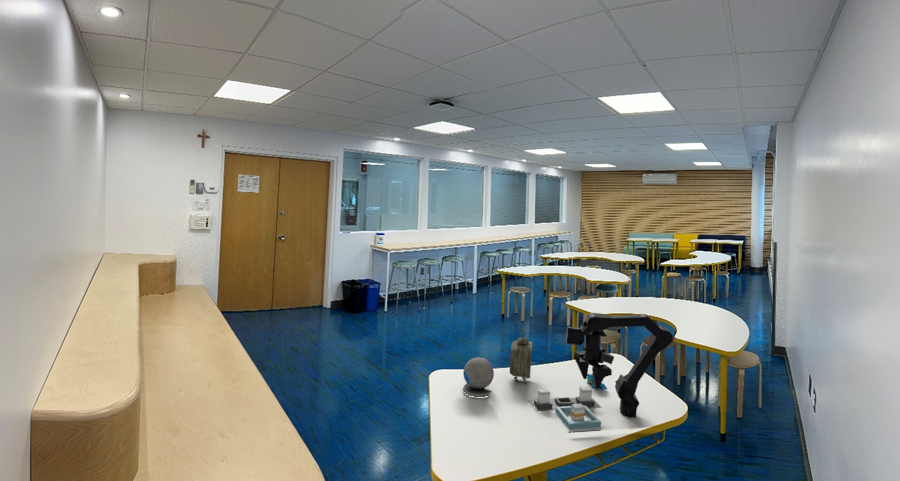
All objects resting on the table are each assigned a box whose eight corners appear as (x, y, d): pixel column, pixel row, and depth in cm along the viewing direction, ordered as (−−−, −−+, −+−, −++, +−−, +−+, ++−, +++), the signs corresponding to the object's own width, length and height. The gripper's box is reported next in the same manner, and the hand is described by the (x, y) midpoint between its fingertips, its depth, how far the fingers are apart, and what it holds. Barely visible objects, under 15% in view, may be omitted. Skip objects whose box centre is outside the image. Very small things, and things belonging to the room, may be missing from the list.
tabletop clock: (529, 388, 195) (532, 333, 192) (508, 386, 196) (511, 331, 194) (530, 375, 209) (533, 324, 206) (511, 373, 211) (513, 322, 208)
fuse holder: (601, 410, 177) (602, 403, 176) (535, 414, 172) (535, 407, 172) (590, 400, 186) (591, 393, 185) (527, 403, 181) (527, 396, 181)
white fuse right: (591, 403, 179) (592, 389, 178) (581, 404, 178) (582, 390, 178) (588, 400, 182) (589, 386, 181) (578, 401, 181) (579, 387, 180)
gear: (612, 390, 192) (598, 376, 189) (604, 401, 190) (590, 386, 188) (596, 383, 202) (583, 369, 200) (589, 393, 201) (575, 379, 199)
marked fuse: (583, 422, 166) (585, 407, 165) (574, 423, 165) (575, 408, 164) (580, 418, 169) (581, 403, 168) (570, 419, 168) (571, 404, 167)
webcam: (497, 396, 186) (499, 362, 185) (470, 400, 182) (471, 366, 180) (484, 383, 198) (485, 351, 197) (458, 387, 194) (459, 354, 192)
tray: (600, 430, 162) (601, 421, 162) (568, 432, 160) (569, 423, 160) (584, 413, 174) (585, 405, 174) (555, 415, 172) (555, 406, 172)
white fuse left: (549, 406, 176) (550, 391, 175) (539, 406, 175) (540, 392, 175) (546, 402, 179) (547, 388, 178) (537, 403, 178) (537, 389, 177)
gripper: (625, 353, 165) (623, 392, 167) (598, 336, 183) (596, 372, 185) (598, 355, 163) (596, 395, 164) (574, 338, 181) (572, 374, 182)
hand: (590, 384), depth 174 cm, fingers open, 9 cm apart
